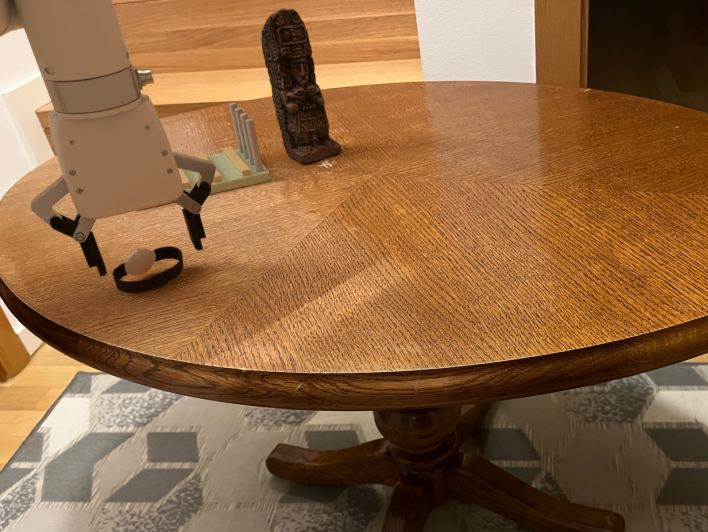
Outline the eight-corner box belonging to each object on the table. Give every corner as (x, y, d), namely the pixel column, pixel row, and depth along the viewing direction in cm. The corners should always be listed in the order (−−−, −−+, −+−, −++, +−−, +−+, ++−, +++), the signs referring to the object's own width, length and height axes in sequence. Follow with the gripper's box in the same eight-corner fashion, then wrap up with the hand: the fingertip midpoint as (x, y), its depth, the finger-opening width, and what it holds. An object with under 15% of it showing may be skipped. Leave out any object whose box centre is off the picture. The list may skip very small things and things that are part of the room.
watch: (171, 260, 82) (162, 231, 80) (197, 271, 79) (188, 241, 77) (108, 290, 77) (97, 259, 75) (133, 302, 74) (123, 271, 72)
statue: (303, 166, 104) (278, 15, 93) (278, 154, 109) (250, 9, 98) (343, 153, 108) (323, 6, 97) (316, 143, 113) (294, 1, 101)
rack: (134, 210, 94) (115, 148, 89) (122, 181, 103) (103, 123, 98) (271, 180, 100) (259, 121, 96) (248, 155, 109) (237, 99, 105)
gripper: (183, 66, 73) (224, 224, 82) (-11, 100, 66) (59, 266, 76) (198, 82, 67) (241, 249, 77) (-11, 121, 61) (65, 297, 71)
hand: (151, 257), depth 76 cm, fingers open, 9 cm apart
